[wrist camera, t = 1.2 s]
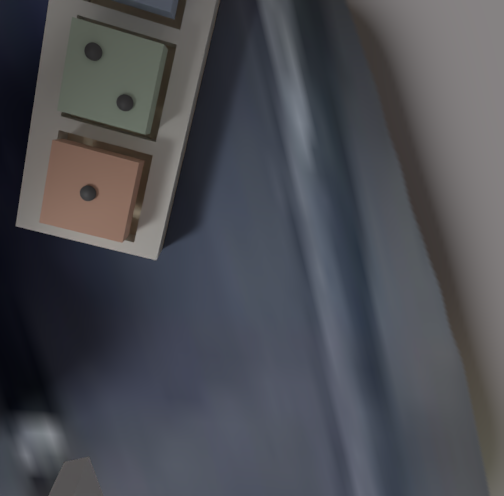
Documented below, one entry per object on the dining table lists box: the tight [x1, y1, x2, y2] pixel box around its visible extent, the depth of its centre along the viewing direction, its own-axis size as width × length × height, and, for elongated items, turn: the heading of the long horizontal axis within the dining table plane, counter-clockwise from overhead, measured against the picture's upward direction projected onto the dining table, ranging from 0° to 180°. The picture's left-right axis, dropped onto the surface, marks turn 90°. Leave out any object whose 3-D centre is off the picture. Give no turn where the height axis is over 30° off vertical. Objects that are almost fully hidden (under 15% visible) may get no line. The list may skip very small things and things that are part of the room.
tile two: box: [57, 17, 168, 135], centre depth 31 cm, size 6×6×2 cm
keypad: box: [16, 0, 220, 260], centre depth 34 cm, size 11×25×3 cm, turn 165°
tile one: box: [39, 139, 145, 243], centre depth 33 cm, size 6×6×2 cm
